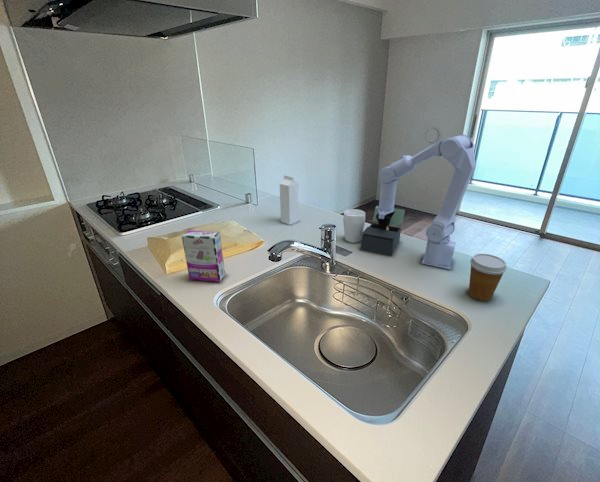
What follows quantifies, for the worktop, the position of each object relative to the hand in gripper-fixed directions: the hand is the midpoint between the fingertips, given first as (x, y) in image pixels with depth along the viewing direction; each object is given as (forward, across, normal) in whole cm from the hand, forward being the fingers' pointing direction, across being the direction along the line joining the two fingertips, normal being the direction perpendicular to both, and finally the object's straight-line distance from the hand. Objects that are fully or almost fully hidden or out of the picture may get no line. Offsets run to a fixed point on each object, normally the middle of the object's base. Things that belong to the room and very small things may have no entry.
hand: (383, 229), depth 129 cm
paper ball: (0, 0, 0) cm, 0 cm away
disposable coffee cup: (+6, +23, +36) cm, 43 cm away
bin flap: (-4, -6, 0) cm, 7 cm away
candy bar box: (+6, +53, -46) cm, 70 cm away
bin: (+6, +3, 0) cm, 7 cm away
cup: (+6, +2, -12) cm, 14 cm away
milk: (+6, -4, -46) cm, 47 cm away
